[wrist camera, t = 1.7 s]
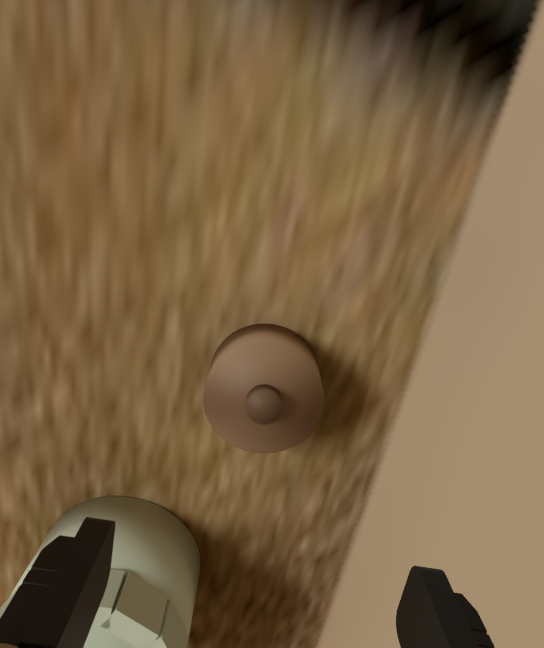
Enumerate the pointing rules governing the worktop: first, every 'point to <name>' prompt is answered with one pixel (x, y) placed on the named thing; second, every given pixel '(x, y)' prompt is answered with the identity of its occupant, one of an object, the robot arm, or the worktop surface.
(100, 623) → the jar
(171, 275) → the worktop surface
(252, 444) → the lid
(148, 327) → the worktop surface
